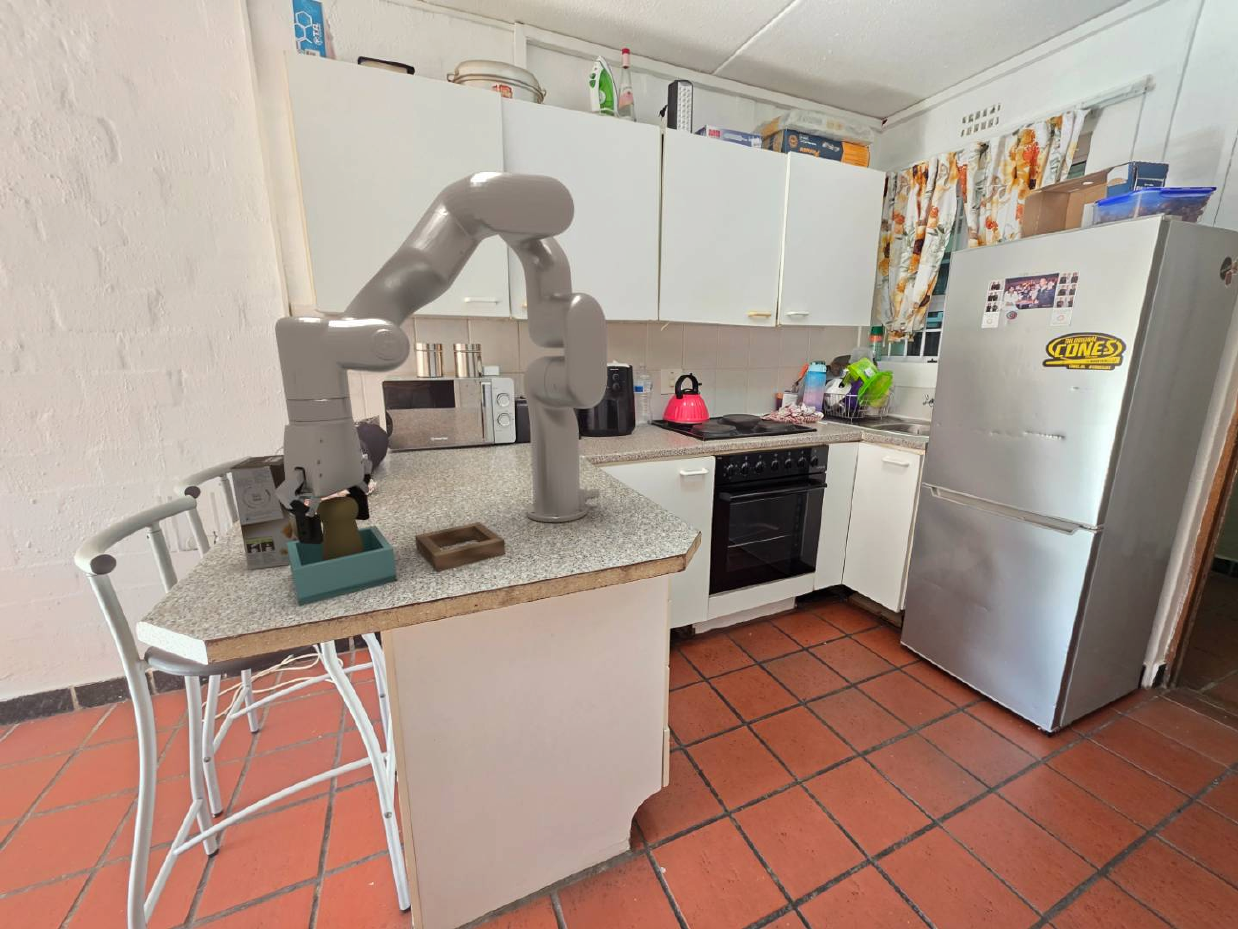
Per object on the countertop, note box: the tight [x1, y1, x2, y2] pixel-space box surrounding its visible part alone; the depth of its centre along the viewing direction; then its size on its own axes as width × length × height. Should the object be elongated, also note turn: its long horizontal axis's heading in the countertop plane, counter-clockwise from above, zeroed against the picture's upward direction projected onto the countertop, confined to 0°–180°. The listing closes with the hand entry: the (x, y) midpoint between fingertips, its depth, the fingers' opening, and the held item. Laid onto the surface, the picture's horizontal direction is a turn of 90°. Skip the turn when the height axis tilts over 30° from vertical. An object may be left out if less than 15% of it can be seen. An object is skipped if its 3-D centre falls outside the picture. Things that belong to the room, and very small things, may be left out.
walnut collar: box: [414, 521, 506, 573], centre depth 80 cm, size 11×11×2 cm
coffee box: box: [229, 454, 299, 571], centre depth 77 cm, size 9×6×16 cm
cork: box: [315, 496, 365, 561], centre depth 70 cm, size 6×6×11 cm
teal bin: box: [287, 525, 398, 607], centre depth 71 cm, size 12×12×5 cm
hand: (337, 530), depth 70 cm, fingers open, 9 cm apart
